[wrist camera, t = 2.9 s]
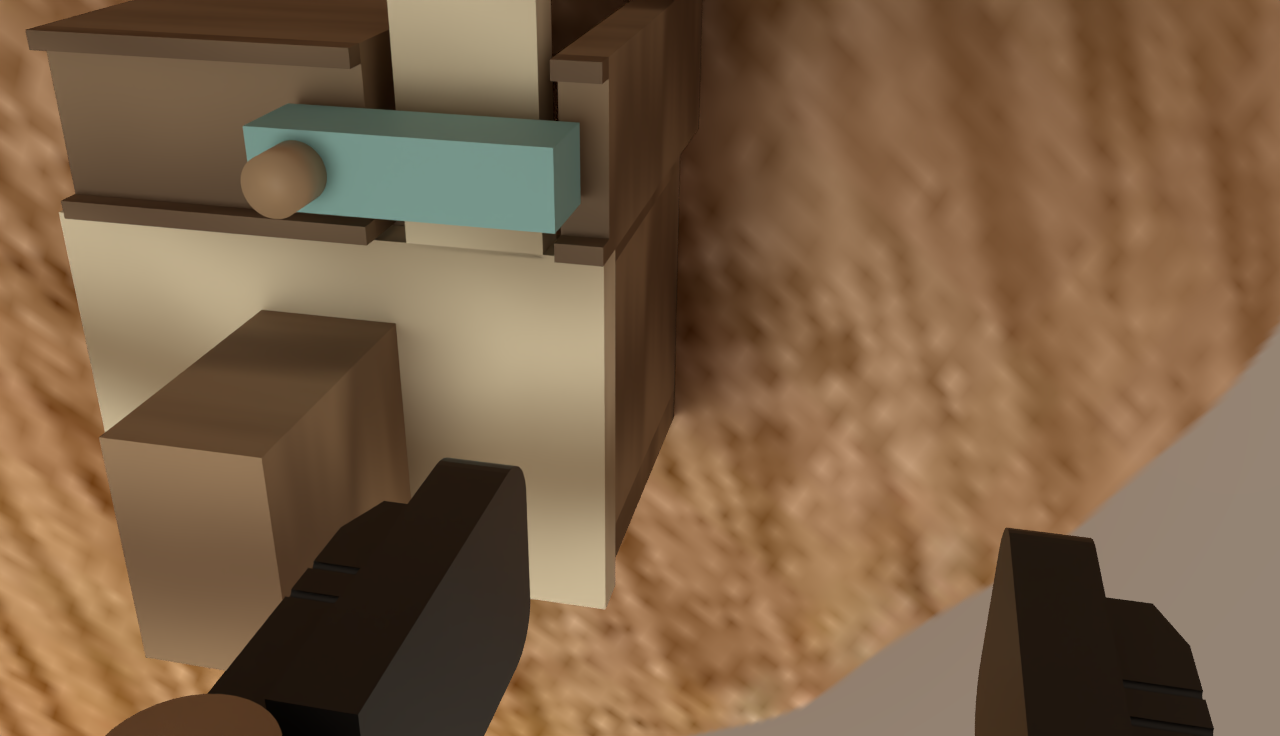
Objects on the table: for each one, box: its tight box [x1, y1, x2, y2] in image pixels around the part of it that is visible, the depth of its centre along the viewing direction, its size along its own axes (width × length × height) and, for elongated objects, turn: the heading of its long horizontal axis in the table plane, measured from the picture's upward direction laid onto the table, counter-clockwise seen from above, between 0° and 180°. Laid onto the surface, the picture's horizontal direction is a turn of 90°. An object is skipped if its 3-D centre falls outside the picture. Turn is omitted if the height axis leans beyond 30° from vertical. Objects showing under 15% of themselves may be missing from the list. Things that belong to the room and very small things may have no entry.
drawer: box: [59, 0, 615, 671], centre depth 25 cm, size 14×13×8 cm
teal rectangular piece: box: [241, 103, 581, 234], centre depth 23 cm, size 2×6×3 cm, turn 89°
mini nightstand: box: [26, 0, 703, 557], centre depth 31 cm, size 13×12×11 cm
